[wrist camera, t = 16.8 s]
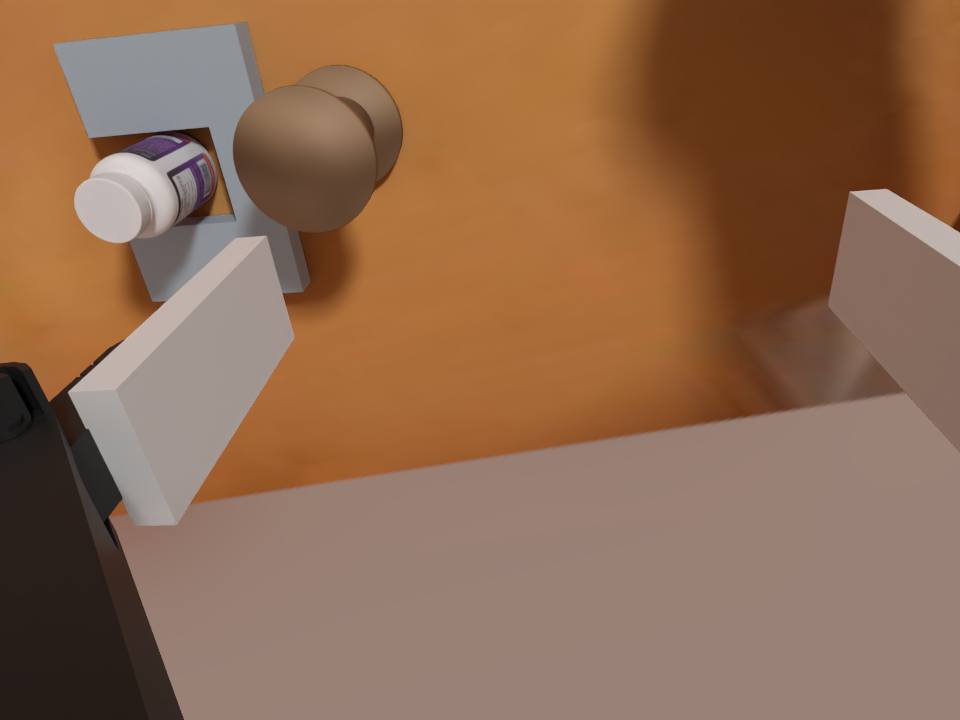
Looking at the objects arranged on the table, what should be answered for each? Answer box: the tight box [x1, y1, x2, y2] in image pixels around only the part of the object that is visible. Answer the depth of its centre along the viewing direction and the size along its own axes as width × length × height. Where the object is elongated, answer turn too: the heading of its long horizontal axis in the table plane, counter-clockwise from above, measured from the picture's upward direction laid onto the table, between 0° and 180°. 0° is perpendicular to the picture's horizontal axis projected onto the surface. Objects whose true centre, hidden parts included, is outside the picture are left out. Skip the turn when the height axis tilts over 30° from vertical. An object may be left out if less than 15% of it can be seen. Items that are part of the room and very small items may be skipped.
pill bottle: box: [74, 132, 217, 243], centre depth 43 cm, size 5×5×10 cm
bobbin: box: [233, 65, 403, 233], centre depth 41 cm, size 8×8×10 cm
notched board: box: [53, 22, 311, 302], centre depth 46 cm, size 18×12×2 cm, turn 6°
